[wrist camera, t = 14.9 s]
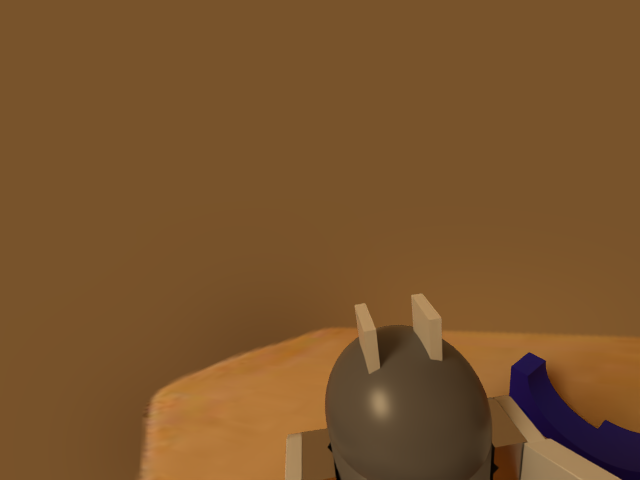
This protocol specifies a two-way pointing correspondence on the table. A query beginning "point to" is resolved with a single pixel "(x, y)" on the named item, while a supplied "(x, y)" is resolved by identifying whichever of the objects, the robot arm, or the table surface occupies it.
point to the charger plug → (407, 404)
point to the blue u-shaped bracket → (572, 422)
